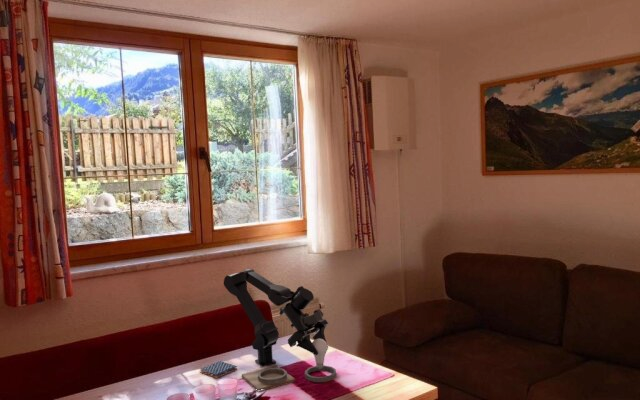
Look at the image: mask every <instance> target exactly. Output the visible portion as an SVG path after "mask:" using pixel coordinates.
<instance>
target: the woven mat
mask: <svg viewBox="0 0 640 400" xmlns="http://www.w3.org/2000/svg"><path fill="white" fill-rule="evenodd" d="M237 367H238V366H237V365H235V364H234V365H233V363H229V362H226V361H222V360H220V361H217V362H214V363H211V364H210V365H207V366H204V367H201V368H200V372H199V373H201V374H204V375H208V376H210V377H212V378H215V379H217V378H221V377H222V376H225V375H227V374H229V373H233V372H234V371H236V370H238V368H237Z"/></svg>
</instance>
